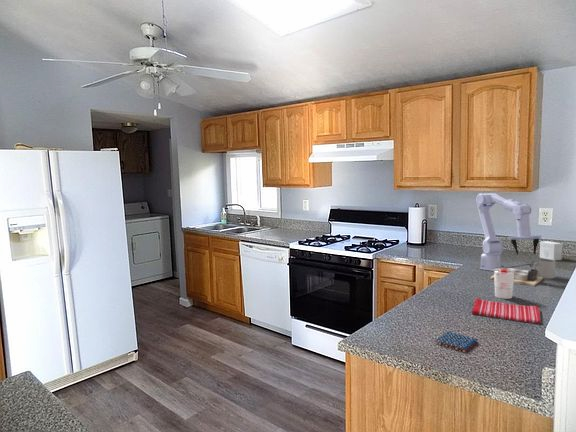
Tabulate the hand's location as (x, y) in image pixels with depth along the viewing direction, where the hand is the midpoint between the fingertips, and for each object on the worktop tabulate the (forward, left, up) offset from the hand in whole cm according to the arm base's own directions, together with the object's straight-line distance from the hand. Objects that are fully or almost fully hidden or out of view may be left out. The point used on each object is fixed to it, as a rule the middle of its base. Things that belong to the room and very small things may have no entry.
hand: (525, 254), depth 202 cm
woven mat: (+5, -99, -14) cm, 100 cm away
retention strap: (-4, -3, -8) cm, 9 cm away
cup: (+6, +11, -14) cm, 19 cm away
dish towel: (+8, -58, -14) cm, 60 cm away
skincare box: (-1, +61, -14) cm, 63 cm away
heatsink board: (-3, -3, -13) cm, 14 cm away
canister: (+1, -37, -14) cm, 39 cm away
